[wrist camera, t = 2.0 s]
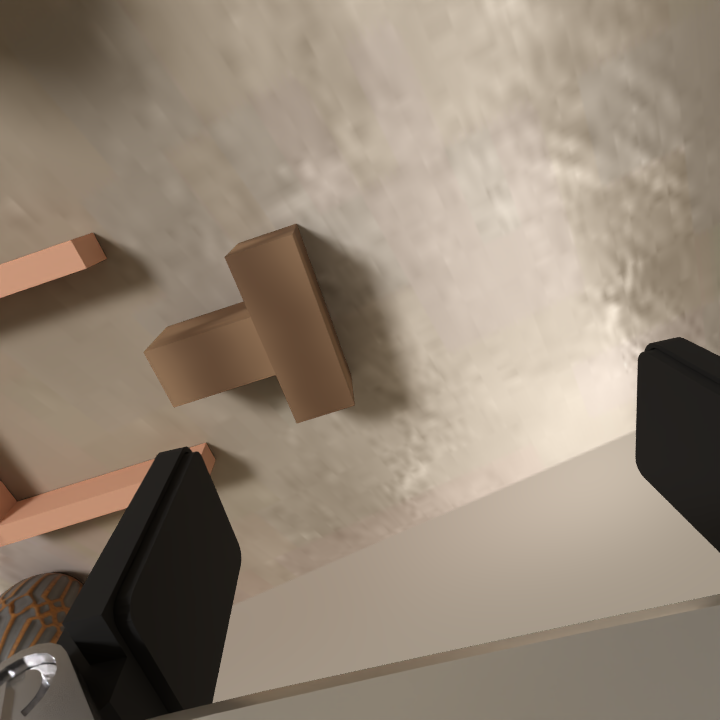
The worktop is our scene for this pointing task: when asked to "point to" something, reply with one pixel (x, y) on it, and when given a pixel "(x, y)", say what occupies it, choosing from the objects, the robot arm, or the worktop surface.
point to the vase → (35, 611)
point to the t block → (261, 334)
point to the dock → (90, 497)
